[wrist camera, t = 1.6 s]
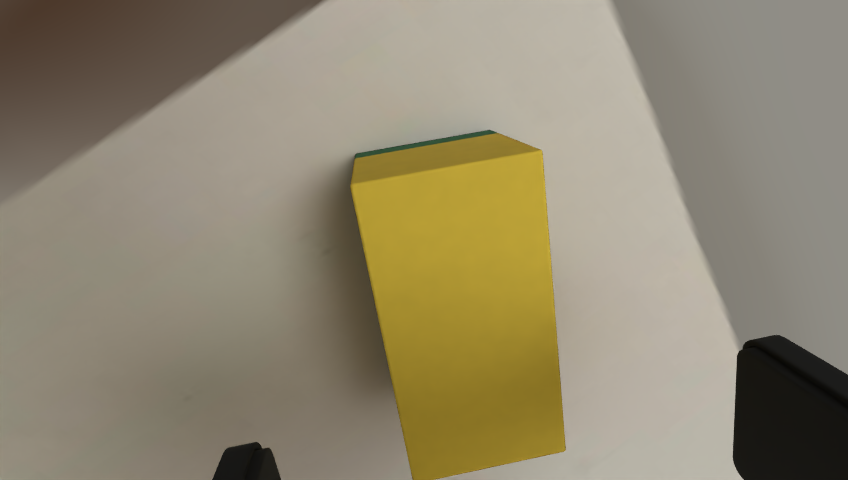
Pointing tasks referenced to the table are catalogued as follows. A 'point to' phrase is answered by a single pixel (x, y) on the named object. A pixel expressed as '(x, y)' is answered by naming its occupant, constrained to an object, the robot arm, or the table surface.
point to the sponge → (464, 298)
